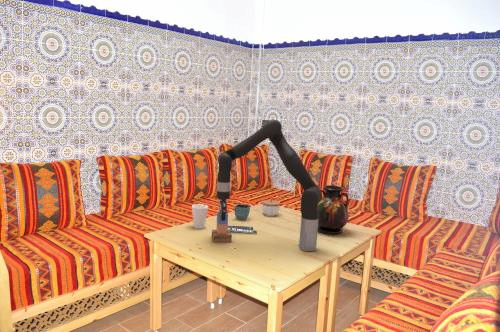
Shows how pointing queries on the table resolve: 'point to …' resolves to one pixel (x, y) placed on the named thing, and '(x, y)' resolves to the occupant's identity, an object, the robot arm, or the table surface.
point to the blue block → (220, 219)
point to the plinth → (221, 237)
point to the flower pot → (242, 211)
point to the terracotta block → (221, 228)
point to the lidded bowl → (270, 207)
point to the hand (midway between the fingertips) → (222, 218)
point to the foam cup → (199, 215)
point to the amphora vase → (332, 211)
